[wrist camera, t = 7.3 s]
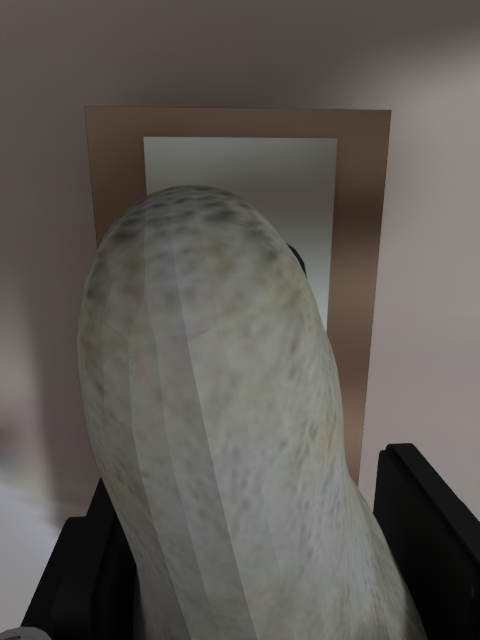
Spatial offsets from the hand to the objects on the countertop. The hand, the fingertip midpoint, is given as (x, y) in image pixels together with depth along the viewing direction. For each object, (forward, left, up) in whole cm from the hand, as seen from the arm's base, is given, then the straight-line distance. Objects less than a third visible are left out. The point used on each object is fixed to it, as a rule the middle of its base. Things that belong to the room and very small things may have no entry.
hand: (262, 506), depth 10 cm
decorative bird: (+1, 0, -1) cm, 1 cm away
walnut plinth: (0, 0, -12) cm, 12 cm away
